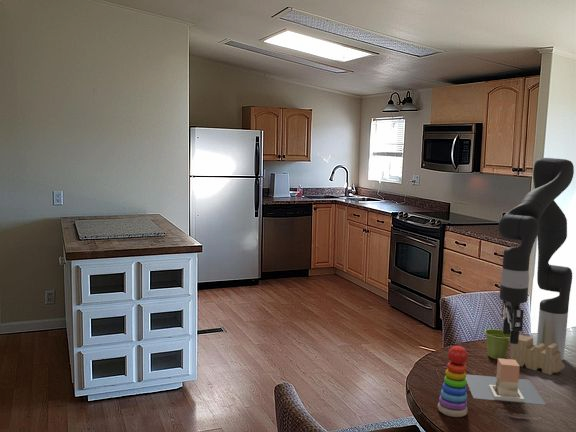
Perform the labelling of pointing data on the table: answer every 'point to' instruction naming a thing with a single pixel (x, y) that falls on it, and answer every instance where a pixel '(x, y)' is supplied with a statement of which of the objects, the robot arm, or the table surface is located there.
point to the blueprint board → (486, 390)
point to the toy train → (536, 355)
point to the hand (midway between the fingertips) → (510, 338)
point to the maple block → (506, 388)
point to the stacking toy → (454, 384)
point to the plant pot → (497, 343)
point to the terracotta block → (508, 370)
